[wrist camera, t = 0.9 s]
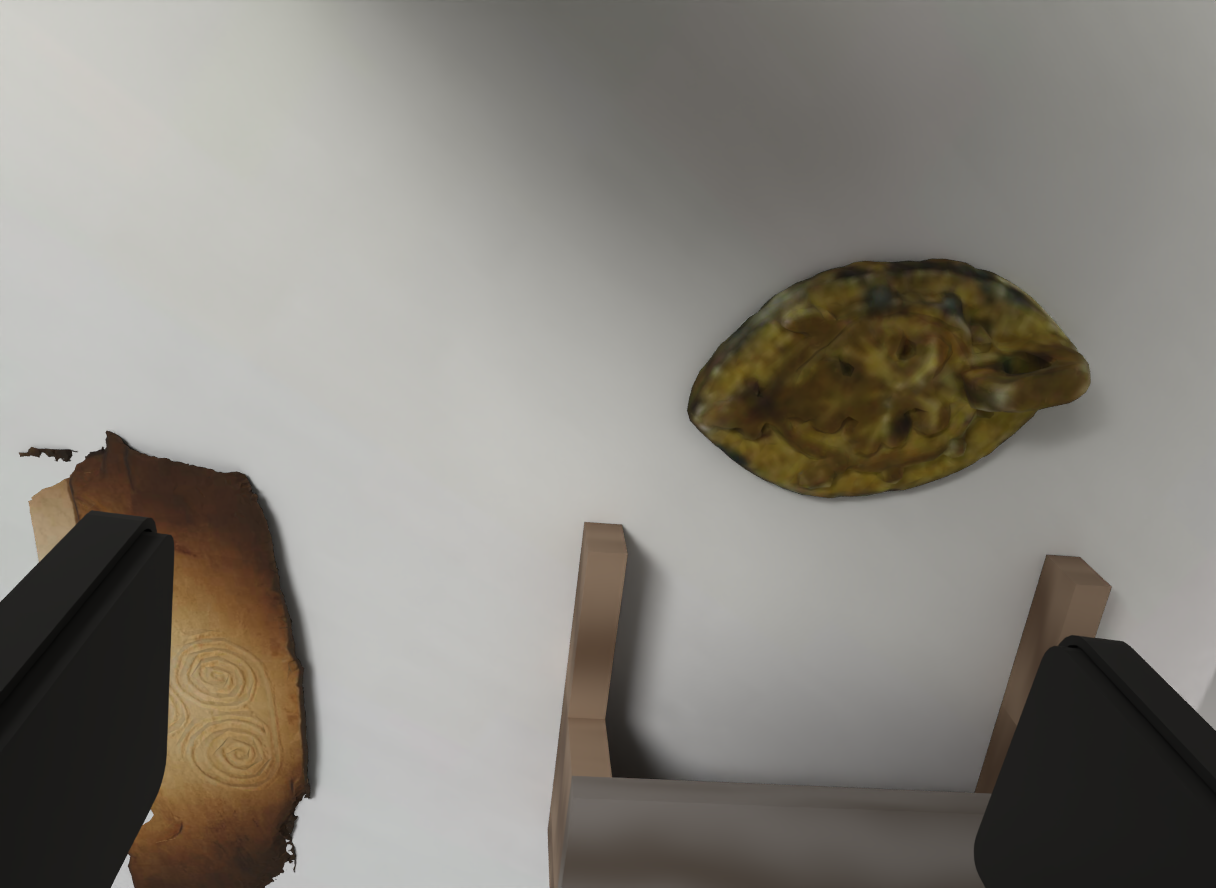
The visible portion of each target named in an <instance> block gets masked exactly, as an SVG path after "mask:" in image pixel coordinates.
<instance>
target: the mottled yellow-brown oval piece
mask: <svg viewBox="0 0 1216 888" xmlns="http://www.w3.org/2000/svg"><path fill="white" fill-rule="evenodd" d="M1090 383H1091V381H1090V369H1089V364H1088V362H1087V361H1086V360H1085V358H1084V357H1083V355H1081V354H1080V353H1078V351H1077V348H1076V347H1075V346H1074V345H1073V344H1072V342H1071V341H1070V340H1069V339H1068V338H1067V337H1066V335H1065V334H1064V333H1063V332H1062V330H1061V329H1060V328H1059V326H1058V325H1057V324H1056V323H1055V322H1054V321H1053V319H1052V318H1051V317H1050V316H1049V315H1048V314H1047V313H1046V311H1045V310H1044V309H1043V308H1042V307H1041V306H1040V305H1039V304H1038V303H1037V302H1036V301H1035V300H1034V299H1033V298H1032V297H1030V296H1029V295H1028V294H1026V293H1025V292H1024V291H1022V290H1021V289H1020V288H1018V287H1017V286H1016V285H1014V284H1012V283H1011V282H1009V281H1007V280H1006V279H1004V278H1002V277H1000V276H998V275H996V274H994V273H992V272H989V271H986V270H979V269H976V268H974V267H972V266H971V265H969V264H967V263H964V262H959V261H953V260H948V259H928V260H924V261H901V262H872V261H862V262H855V263H852V264H849V265H847V266H844V267H838V268H834V269H830V270H827V271H824V272H821V273H819V274H817V275H815V276H813V277H811V278H808V279H806V280H804V281H801V282H798V283H795V284H794V285H792V286H791V287H789V288H787V289H786V290H784V291H782V292H780V293H778V294H776V295H774V296H773V297H772V298H771V299H770V300H769V301H768V302H767V303H765V304H764V306H763V307H762V308H761V309H760V310H759V312H758V313H756V314H754V315H753V316H751V317H749V318H748V319H747V321H746V322H745V323H744V324H743V325H742V326H741V327H740V328H739V329H738V330H737V331H736V332H735V333H733V334H732V335H731V336H730V337H729V338H728V339H727V340H726V341H724V342H723V343H722V344H720V346H719V347H718V349H717V350H716V351H715V353H714V354H713V356H712V357H711V358H710V360H709V361H708V362H707V363H706V365H705V366H704V367H703V368H702V369H701V370H700V372H699V374H698V376H697V378H696V380H695V382H694V385H693V387H692V390H691V394H690V397H689V403H688V408H687V412H688V415H689V419H690V421H691V422H692V423H693V424H694V425H695V426H696V428H697V429H698V430H699V431H700V432H701V433H702V434H703V435H704V436H705V437H707V438H708V439H709V440H710V441H711V442H712V443H713V444H714V445H715V446H717V447H719V448H720V449H721V450H722V451H723V452H724V453H725V454H727V455H728V456H729V457H730V458H731V459H732V460H733V461H735V462H736V463H738V464H739V465H741V466H742V467H743V468H745V469H746V470H748V471H750V472H751V473H753V474H754V475H756V476H758V477H760V478H762V479H764V480H766V481H768V482H771V483H773V484H776V485H778V486H780V487H782V488H784V489H787V490H790V491H793V492H796V493H799V494H802V495H812V496H818V497H825V498H835V497H840V496H850V497H852V496H867V495H873V494H878V493H883V492H887V491H898V490H906V489H909V488H913V487H917V486H920V485H923V484H926V483H929V482H932V481H935V480H938V479H941V478H943V477H946V476H948V475H950V474H953V473H956V472H958V471H960V470H962V469H964V468H966V467H968V466H970V465H972V464H973V463H975V462H976V461H978V460H979V459H981V458H982V457H985V456H987V455H988V454H990V453H991V452H992V451H993V450H994V449H996V448H997V447H998V446H999V445H1000V444H1002V443H1003V442H1004V441H1006V440H1007V439H1008V438H1009V437H1011V436H1012V435H1013V434H1014V433H1015V432H1016V431H1018V430H1019V429H1020V428H1021V427H1022V426H1023V425H1024V424H1025V423H1026V422H1027V421H1029V420H1030V419H1031V418H1032V417H1033V416H1034V414H1035V413H1036V412H1037V411H1038V410H1040V409H1044V408H1048V407H1053V406H1058V405H1063V404H1068V403H1070V402H1072V401H1074V400H1076V399H1078V398H1079V397H1080V396H1081V395H1083V394H1084V393H1085V392H1086V391H1087V389H1088V387H1089V386H1090Z"/></svg>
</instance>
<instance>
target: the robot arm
mask: <svg viewBox="0 0 1216 888" xmlns="http://www.w3.org/2000/svg"><path fill="white" fill-rule="evenodd" d="M173 577H174V540H173V537H172V536H171V535H169V534H161V533H157V529H156V524H155V521H154V520H153V518H149V517H141V516H133V515H125V514H117V513H109V512H102V511H93V510H91V511H90V512H88V513H87V514H86V515H85V516H84V517H83V518H82V519H81V520H80V521H79V522H78V523H77V524H76V525H75V526H74V527H73V528H72V529H71V530H70V531H69V532H68V533H67V534H66V535H65V536H64V537H63V538H62V539H61V540H60V541H59V542H58V543H57V544H56V546H55V547H54V548H53V549H52V550H51V551H50V552H49V553H48V554H47V555H46V556H45V557H44V558H43V559H42V560H41V561H40V562H39V563H38V564H37V565H36V566H35V567H34V568H33V569H32V570H31V571H30V572H29V573H28V574H27V575H26V576H25V577H24V578H23V579H22V580H21V581H20V582H19V583H18V585H17V586H16V587H15V588H14V589H13V590H12V591H11V592H10V593H9V594H8V595H7V596H6V597H5V598H4V599H3V600H2V601H1V602H0V888H111V886H112V884H113V882H114V880H115V878H116V876H117V874H118V872H119V870H120V868H121V866H122V864H123V862H124V860H125V858H126V856H127V854H128V852H129V850H130V848H131V846H132V844H133V842H134V840H135V838H136V837H137V835H138V833H139V831H140V829H141V827H142V825H143V823H144V821H145V819H146V817H147V815H148V813H149V811H150V809H151V807H152V805H153V803H154V801H155V799H156V797H157V795H158V792H159V790H160V787H161V784H162V780H163V776H164V772H165V766H166V758H167V737H168V710H169V684H170V657H171V630H172V604H173ZM974 862H975V866H976V870H977V872H978V875H979V877H980V879H981V881H982V882H983V884H984V886H985V888H1216V731H1215V730H1214V729H1213V728H1212V727H1211V726H1210V725H1209V724H1208V723H1207V722H1206V721H1205V720H1204V719H1203V718H1202V717H1201V716H1200V715H1199V714H1198V713H1197V712H1196V711H1195V710H1194V709H1193V708H1192V707H1191V706H1190V705H1189V704H1188V703H1187V702H1186V701H1185V700H1184V699H1183V698H1182V697H1181V696H1180V695H1179V694H1178V693H1177V692H1176V691H1175V690H1174V689H1173V688H1172V687H1171V686H1170V685H1169V684H1168V683H1167V682H1166V681H1165V680H1164V679H1163V678H1162V677H1161V676H1160V675H1159V674H1158V673H1157V672H1156V671H1155V670H1154V669H1153V668H1152V667H1151V666H1150V665H1149V664H1148V663H1147V662H1146V661H1145V660H1144V659H1143V658H1142V657H1141V656H1140V655H1139V654H1138V653H1137V652H1136V651H1134V650H1133V649H1132V648H1131V647H1130V646H1129V645H1128V644H1126V643H1125V642H1123V641H1115V640H1108V639H1100V638H1092V637H1084V636H1076V635H1070V636H1068V637H1066V638H1064V639H1063V640H1062V641H1061V642H1060V643H1059V645H1058V646H1053V647H1050V648H1049V649H1048V650H1047V651H1046V652H1045V654H1044V656H1043V657H1042V660H1041V662H1040V665H1039V668H1038V670H1037V673H1036V676H1035V678H1034V681H1033V684H1032V687H1031V689H1030V692H1029V695H1028V697H1027V700H1026V703H1025V705H1024V708H1023V711H1022V713H1021V716H1020V719H1019V722H1018V724H1017V727H1016V730H1015V732H1014V735H1013V738H1012V740H1011V743H1010V746H1009V748H1008V751H1007V754H1006V757H1005V759H1004V762H1003V765H1002V767H1001V770H1000V773H999V775H998V778H997V781H996V784H995V786H994V789H993V792H992V794H991V797H990V800H989V802H988V805H987V808H986V810H985V813H984V816H983V819H982V821H981V824H980V827H979V829H978V832H977V835H976V838H975V842H974Z"/></svg>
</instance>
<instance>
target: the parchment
mask: <svg viewBox="0 0 1216 888" xmlns="http://www.w3.org/2000/svg"><path fill="white" fill-rule="evenodd" d="M106 435H107V438H106V444H107V445H106V446H107V447H106V449H104V447H102V449H101V450H98V451H96V452H90V454H88V456H85V458H86V459H85V460H84V461H83V462H81V463H79V464H77V465H76V468H75V470H74V472H73V473H72V474H71V475H70V478H67V479H64V480H63V481H61V482H60V483H58V484H56V485H54V486H52V487H48V488H45V489H42V490H41V491H40V492H38V493H37V494H36V495H34V496H33V497H32V500H31V501H28V502H29V506H30V514H31V519H32V525H33V529H34V535H35V541H36V546H37V552H38V558H39V562H40V561H41V560H42V559H43V558H44V557H45V556H46V555H47V554H48V553H49V552H50V551H51V550H52V549H53V548H54V547H55V546H56V544H57V543H58V542H59V541H60V540H61V539H62V538H63V537H64V536H65V535H66V534H67V533H68V532H69V531H70V530H71V529H72V528H73V527H74V526H75V525H76V524H77V523H78V522H79V521H80V520H81V519H82V518H83V517H84V516H85V515H86V514H87V513H88V512H90V511H91V510H93V511H102V512H109V513H117V514H125V515H133V516H141V517H149V518H153V520H154V521H155V524H156V529H157V533H161V534H169V535H171V536H172V537H173V540H174V577H173V604H172V630H171V657H170V684H169V710H168V737H167V758H166V766H165V772H164V776H163V780H162V784H161V787H160V790H159V792H158V795H157V797H156V799H155V801H154V803H153V805H152V807H151V809H150V810H152V812H153V814H154V816H153V817H152V819H151V820H150V821H149V822H147V823H146V824H144V825H142V827H141V829H140V831H139V833H138V835H137V837H136V838H135V840H134V842H133V844H132V846H131V848H130V850H129V852H128V854H129V855H130V861H129V864H128V867H129V871H130V873H131V875H132V880H133V884H134V888H265V886H266V885H268V884H270V883H271V882H274V880H273V879H272V878H273V877H276V876H278V875H280V873H284V870H283V867H284V863H285V862H287V861H289V863H291V862H293V861H291V860H294V863H295V857H296V855H295V854H294V846H293V844H292V842H291V841H292V839H291V837H290V834H291V832H292V830H293V827H294V821H295V820H296V819H297V817H298V816H295V815H294V811H295V808H296V806H297V805H298V803H299V801H301V800H302V798H303V796H304V795H305V794H306V795H305V797H304V798H308V799H309V798H310V797H309V796H310V786H309V783H308V781H309V780H308V778H307V771H308V769H307V764H308V746H307V739H306V719H305V717H306V712H305V708H304V698H303V693H304V691H303V686H302V684H303V683H302V681H303V674H304V668H303V667H302V665H301V663H300V661H299V659H297V658H296V656H295V643H294V639H293V635H292V629H291V623H292V620H291V619H290V616H289V613H288V610H287V606H286V604H285V600H284V595H283V593H282V592H281V590H280V583H279V575H278V569H277V568H276V562H275V557H274V551H273V546H274V545H273V543H272V537H271V534H270V532H269V530H268V528H269V527H268V524H267V520H266V519H265V517H264V514H263V511H262V508H261V507H260V506H259V504H258V503H257V499H258V496H257V495H256V493H255V494H253V493H252V488H251V485H250V483H249V481H248V479H247V477H246V475H245V474H242V473H240V472H229V473H222V472H216V471H214V470H213V469H207V468H204V467H197V466H194V465H190V466H189V464H185V463H182V462H173V461H171V460H170V459H167V458H157V457H155V456H152V457H151V456H148V455H146V454H143V453H139V452H138V451H136V450H133V449H129V447H128V446H127V445H126V444H124V443H123V441H122V439H121V438H120V437H119V436H117V435H116V434H114V433H112V432H110V431H106ZM72 451H73V450H70V449H65V450H59V449H37V448H34V447H31V448H30V449H29V450H28V452H27V453H19V454H20V457H21V456H30V455H31V456H36V457H39V458H40V455H41V453H42V452H43V453H45V454H46V455H47V456H48V457H51V456H53V457H55V459H56V460H55V461H58V459H59V458H62V460H63V461H65V462H68V461H71V460H70V458H71V457H72ZM73 452H78V451H73ZM63 458H64V459H63ZM286 839H287V840H290V841H289V842H287V843H286ZM287 844H290V845H292V849H291V850H289V851H291V852H292V853H293V854H292V855H290V854H289V853H288V852H286V847H287ZM294 869H295V866H294ZM294 869H293V870H294ZM275 880H276V879H275Z"/></svg>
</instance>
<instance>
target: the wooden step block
mask: <svg viewBox="0 0 1216 888" xmlns="http://www.w3.org/2000/svg"><path fill="white" fill-rule="evenodd" d="M627 556H628V553H627V548H626V543H625V538H624V533H623V528H622V525H619V524H605V523H590V522H584V530H583V539H582V547H581V556H580V564H579V572H578V581H577V589H576V598H575V606H574V614H573V623H572V631H571V640H570V648H569V656H568V665H567V673H566V682H565V690H564V698H563V707H562V715H561V724H560V732H559V740H558V749H557V757H556V766H555V774H554V782H553V791H552V799H551V808H550V816H549V824H548V853H549V885H550V888H985V886H984V884H983V882H982V881H981V879H980V877H979V875H978V872H977V870H976V866H975V862H974V842H975V838H976V835H977V832H978V829H979V827H980V824H981V821H982V819H983V816H984V813H985V810H986V808H987V805H988V802H989V800H990V797H991V794H992V792H993V789H994V786H995V784H996V781H997V778H998V775H999V773H1000V770H1001V767H1002V765H1003V762H1004V759H1005V757H1006V754H1007V751H1008V748H1009V746H1010V743H1011V740H1012V738H1013V735H1014V732H1015V730H1016V727H1017V724H1018V722H1019V719H1020V716H1021V713H1022V711H1023V708H1024V705H1025V703H1026V700H1027V697H1028V695H1029V692H1030V689H1031V687H1032V684H1033V681H1034V678H1035V676H1036V673H1037V670H1038V668H1039V665H1040V662H1041V660H1042V657H1043V656H1044V654H1045V652H1046V651H1047V650H1048V649H1049V648H1050V647H1053V646H1058V645H1059V643H1060V642H1061V641H1062V640H1063V639H1064V638H1066V637H1068V636H1070V635H1076V636H1084V637H1092V638H1095V636H1096V633H1097V629H1098V626H1099V623H1100V620H1101V617H1102V614H1103V611H1104V608H1105V605H1106V602H1107V599H1108V596H1109V593H1110V590H1111V586H1110V585H1109V584H1108V583H1107V582H1106V581H1105V580H1104V579H1103V578H1102V577H1101V576H1100V575H1099V574H1098V573H1096V572H1095V571H1094V570H1093V569H1092V568H1091V567H1090V566H1089V565H1088V564H1087V563H1086V562H1085V561H1084V560H1083V559H1082V558H1081V557H1070V556H1056V555H1046V559H1045V562H1044V565H1043V568H1042V572H1041V575H1040V578H1039V582H1038V585H1037V588H1036V592H1035V595H1034V598H1033V601H1032V605H1031V608H1030V611H1029V615H1028V618H1027V621H1026V625H1025V628H1024V631H1023V634H1022V638H1021V641H1020V644H1019V648H1018V651H1017V654H1016V658H1015V661H1014V664H1013V668H1012V671H1011V674H1010V677H1009V681H1008V684H1007V687H1006V691H1005V694H1004V697H1003V701H1002V704H1001V707H1000V710H999V714H998V717H997V720H996V724H995V727H994V730H993V734H992V737H991V740H990V743H989V747H988V750H987V753H986V757H985V760H984V763H983V767H982V770H981V773H980V776H979V780H978V783H977V786H976V790H975V793H965V792H942V791H919V790H895V789H872V788H848V787H825V786H801V785H778V784H754V783H731V782H707V781H684V780H660V779H637V778H613V777H612V773H611V765H610V757H609V748H608V740H607V732H606V723H605V716H606V708H607V701H608V694H609V687H610V679H611V672H612V665H613V657H614V650H615V643H616V636H617V628H618V621H619V614H620V607H621V599H622V592H623V585H624V578H625V570H626V563H627Z"/></svg>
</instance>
